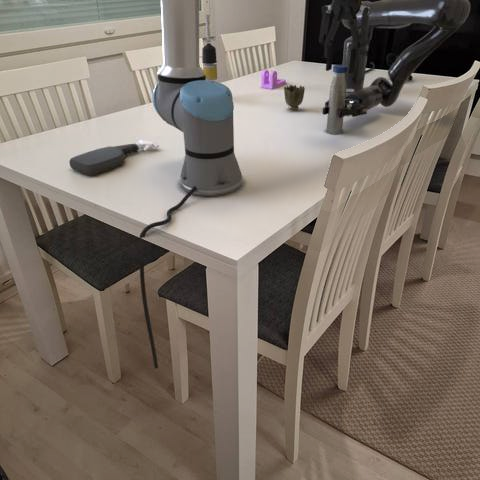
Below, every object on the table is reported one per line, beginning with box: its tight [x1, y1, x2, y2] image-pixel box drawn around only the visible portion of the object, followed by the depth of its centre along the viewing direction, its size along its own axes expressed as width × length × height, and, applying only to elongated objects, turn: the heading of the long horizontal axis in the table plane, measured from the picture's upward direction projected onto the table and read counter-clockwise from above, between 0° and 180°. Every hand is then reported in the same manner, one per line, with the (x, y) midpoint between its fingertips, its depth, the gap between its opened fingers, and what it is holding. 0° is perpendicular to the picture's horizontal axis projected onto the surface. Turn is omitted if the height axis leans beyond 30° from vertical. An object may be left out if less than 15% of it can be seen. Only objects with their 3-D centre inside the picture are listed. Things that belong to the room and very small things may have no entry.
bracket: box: [260, 69, 287, 90], centre depth 194 cm, size 13×6×7 cm, turn 143°
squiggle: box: [385, 52, 414, 81], centre depth 198 cm, size 11×10×15 cm
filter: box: [201, 14, 218, 82], centre depth 171 cm, size 6×6×30 cm
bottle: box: [326, 73, 346, 135], centre depth 137 cm, size 5×5×19 cm
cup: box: [283, 84, 306, 112], centre depth 161 cm, size 8×7×8 cm
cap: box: [332, 64, 348, 74], centre depth 132 cm, size 4×4×2 cm
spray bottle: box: [68, 139, 160, 177], centre depth 124 cm, size 3×11×24 cm
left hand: (339, 70), depth 132 cm, fingers open, 6 cm apart
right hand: (331, 112), depth 137 cm, fingers closed on bottle, 5 cm apart
